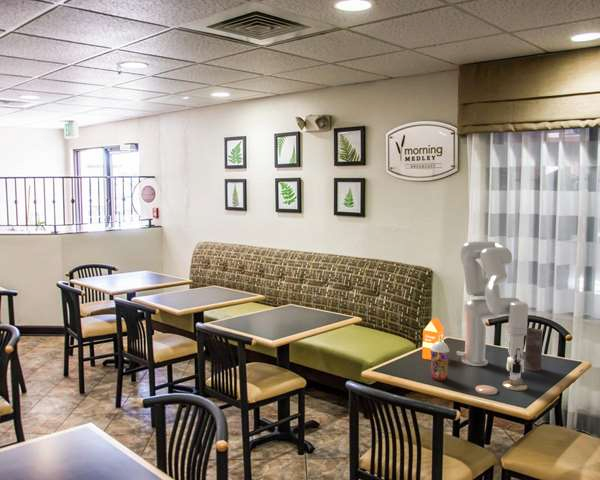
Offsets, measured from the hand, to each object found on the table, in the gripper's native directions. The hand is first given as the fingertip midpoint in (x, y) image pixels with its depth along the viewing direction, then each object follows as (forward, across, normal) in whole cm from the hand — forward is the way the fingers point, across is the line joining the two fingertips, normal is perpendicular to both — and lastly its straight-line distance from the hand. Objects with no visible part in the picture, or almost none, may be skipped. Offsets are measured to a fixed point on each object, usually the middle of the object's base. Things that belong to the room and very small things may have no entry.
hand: (515, 369), depth 244 cm
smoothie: (+8, -2, -32) cm, 33 cm away
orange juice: (+8, -32, -35) cm, 48 cm away
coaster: (+8, +9, -12) cm, 17 cm away
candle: (+8, -26, +12) cm, 30 cm away
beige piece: (+8, 0, 0) cm, 8 cm away
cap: (0, 0, 0) cm, 0 cm away
